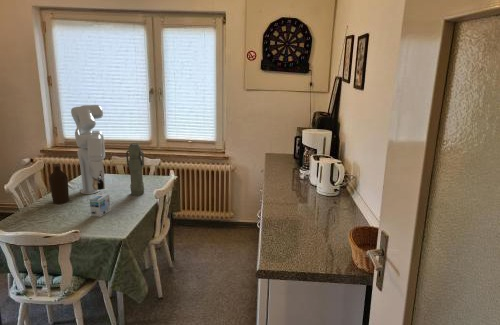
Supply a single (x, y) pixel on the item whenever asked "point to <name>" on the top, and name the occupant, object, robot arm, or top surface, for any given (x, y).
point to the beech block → (96, 184)
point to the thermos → (135, 169)
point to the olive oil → (59, 186)
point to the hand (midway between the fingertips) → (98, 187)
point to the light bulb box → (100, 205)
